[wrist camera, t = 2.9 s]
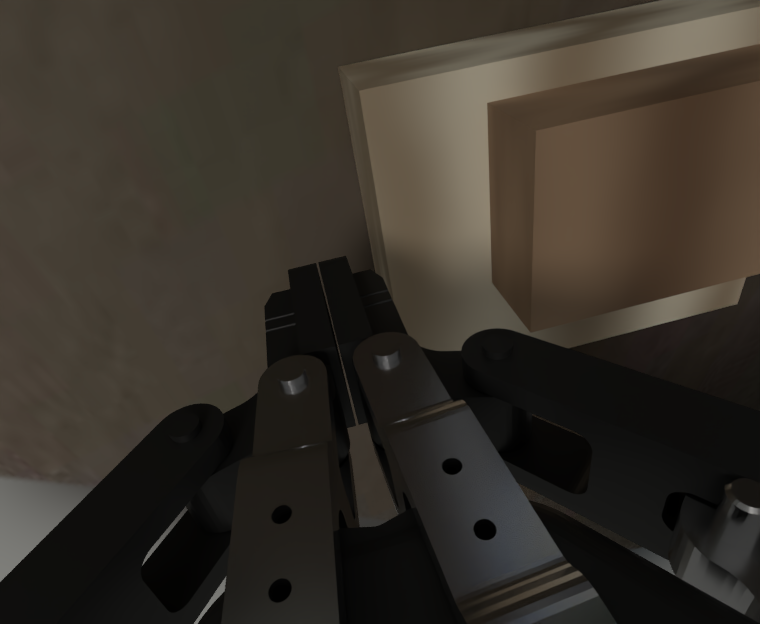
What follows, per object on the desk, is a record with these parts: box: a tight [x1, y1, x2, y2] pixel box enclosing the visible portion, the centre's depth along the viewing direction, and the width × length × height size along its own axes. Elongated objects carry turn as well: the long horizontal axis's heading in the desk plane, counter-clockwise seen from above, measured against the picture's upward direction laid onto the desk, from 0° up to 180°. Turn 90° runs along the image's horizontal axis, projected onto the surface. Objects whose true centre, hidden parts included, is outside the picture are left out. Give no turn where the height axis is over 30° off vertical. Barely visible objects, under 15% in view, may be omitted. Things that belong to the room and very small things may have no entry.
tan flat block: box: [338, 0, 760, 351], centre depth 19 cm, size 14×11×4 cm
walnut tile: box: [487, 44, 760, 333], centre depth 15 cm, size 9×6×3 cm, turn 99°
